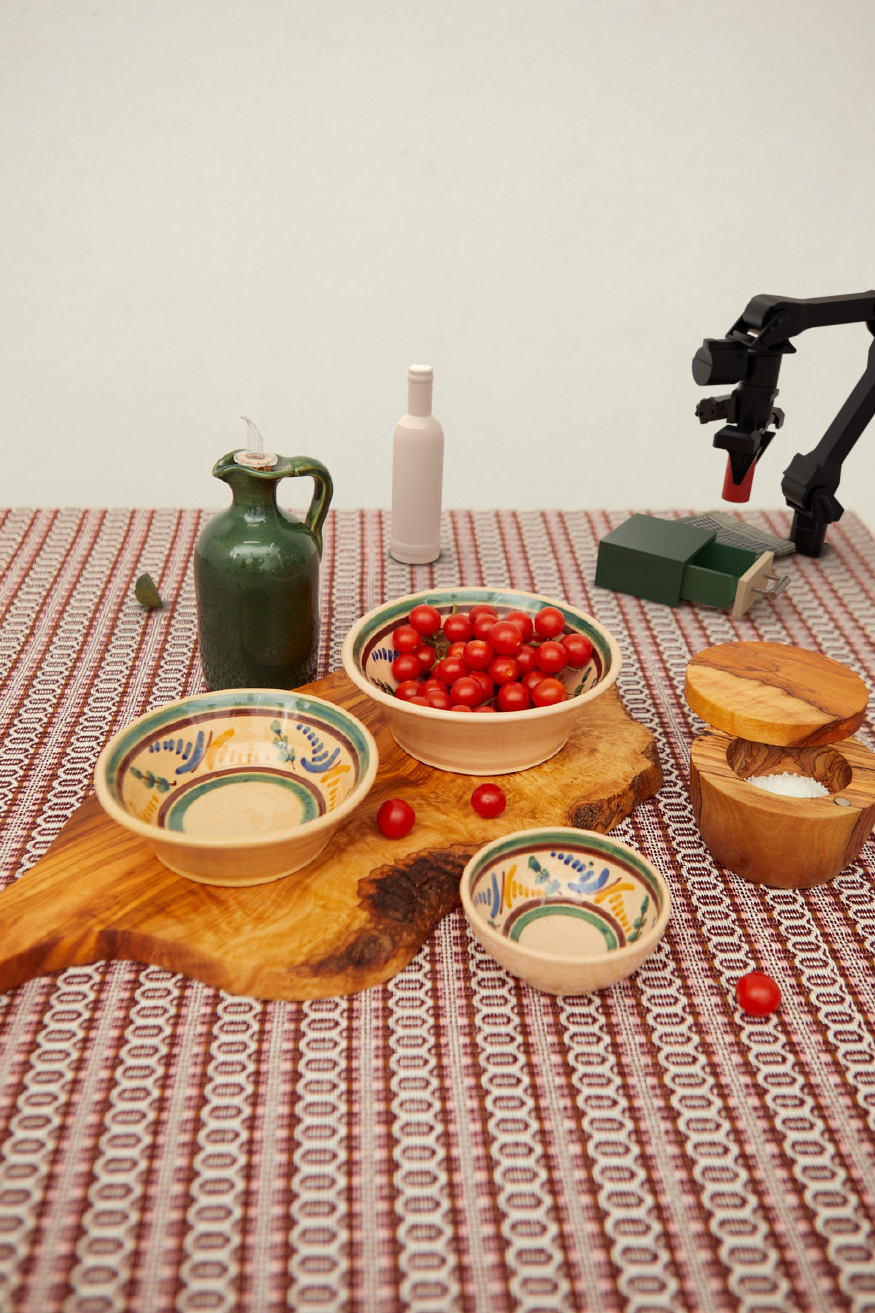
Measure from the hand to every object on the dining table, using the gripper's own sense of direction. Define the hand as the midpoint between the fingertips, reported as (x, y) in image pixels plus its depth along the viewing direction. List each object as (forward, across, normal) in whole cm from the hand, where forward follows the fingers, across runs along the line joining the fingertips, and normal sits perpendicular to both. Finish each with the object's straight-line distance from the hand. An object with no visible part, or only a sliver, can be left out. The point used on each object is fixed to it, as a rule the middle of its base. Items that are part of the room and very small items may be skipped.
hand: (741, 480), depth 174 cm
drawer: (+12, +17, +5) cm, 21 cm away
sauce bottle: (+3, 0, 0) cm, 3 cm away
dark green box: (+13, +17, -7) cm, 22 cm away
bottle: (+13, +30, -42) cm, 53 cm away
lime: (+13, +67, -64) cm, 93 cm away
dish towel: (+13, -3, -2) cm, 14 cm away
